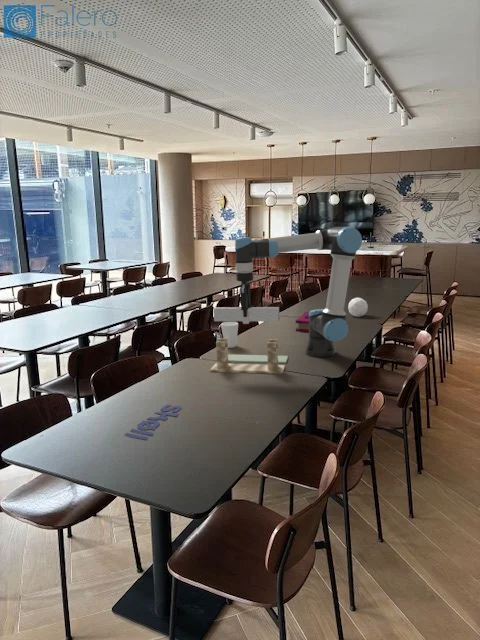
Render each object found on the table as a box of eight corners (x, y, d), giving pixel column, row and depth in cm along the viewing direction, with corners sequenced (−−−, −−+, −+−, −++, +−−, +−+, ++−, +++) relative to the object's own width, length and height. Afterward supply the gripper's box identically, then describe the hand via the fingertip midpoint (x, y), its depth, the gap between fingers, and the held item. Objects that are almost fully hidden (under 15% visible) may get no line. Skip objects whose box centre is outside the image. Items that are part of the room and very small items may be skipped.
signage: (166, 404, 184) (188, 407, 180) (166, 405, 184) (188, 408, 181) (121, 434, 159) (146, 439, 155) (121, 436, 159) (146, 441, 155)
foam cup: (236, 348, 260) (236, 325, 257) (220, 348, 262) (219, 325, 259) (240, 344, 269) (239, 321, 266) (224, 343, 271) (223, 321, 268)
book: (336, 323, 314) (336, 312, 312) (328, 333, 288) (328, 321, 287) (305, 322, 321) (305, 311, 319) (295, 331, 296) (294, 319, 294)
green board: (288, 357, 241) (287, 355, 240) (286, 363, 231) (286, 361, 231) (222, 355, 247) (222, 354, 247) (218, 361, 238) (218, 360, 238)
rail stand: (284, 367, 225) (284, 338, 222) (282, 373, 216) (282, 344, 213) (215, 365, 232) (214, 337, 229) (210, 371, 222) (208, 342, 219)
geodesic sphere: (343, 306, 340) (347, 292, 330) (362, 305, 341) (366, 291, 331) (348, 321, 331) (353, 308, 320) (367, 320, 332) (372, 306, 322)
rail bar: (279, 319, 217) (278, 307, 216) (278, 321, 215) (278, 308, 213) (215, 319, 223) (215, 307, 222) (214, 321, 220) (213, 308, 219)
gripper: (239, 270, 223) (241, 318, 228) (232, 274, 207) (235, 326, 212) (255, 269, 221) (257, 318, 226) (249, 274, 206) (251, 326, 211)
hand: (246, 322), depth 219 cm, fingers closed on rail bar, 3 cm apart
